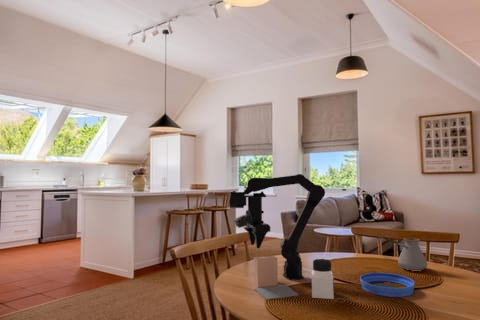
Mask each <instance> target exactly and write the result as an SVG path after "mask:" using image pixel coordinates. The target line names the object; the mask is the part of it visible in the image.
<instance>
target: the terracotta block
mask: <svg viewBox="0 0 480 320" xmlns="http://www.w3.org/2000/svg"><path fill="white" fill-rule="evenodd" d="M278 263H279V262H278V257H276V256H274V255H269V256H268V255H267V256H255V257H253V285H254V286H256V288H263V287H272V286H279V283H278V281H279V279H278V278H279V277H278V275H279V273H278V272H279V271H278V266H279V265H278Z"/></svg>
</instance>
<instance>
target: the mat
mask: <svg viewBox="0 0 480 320" xmlns="http://www.w3.org/2000/svg"><path fill="white" fill-rule="evenodd" d="M254 290H255V292H257V293H258V295H260V296H261V297H262V298H263V299H264V300H266V301H271V300H277V299H278V298H279V299H285V297H286V298H291V297H292V296H294V297H299V296H300V294H299V293H298V292H296V291H294V290H293V289H292V288H290V287H289V286H288V285H286V284H281V285H274V286H266V287H255V288H254ZM290 296H291V297H290ZM270 299H271V300H270Z"/></svg>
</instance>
